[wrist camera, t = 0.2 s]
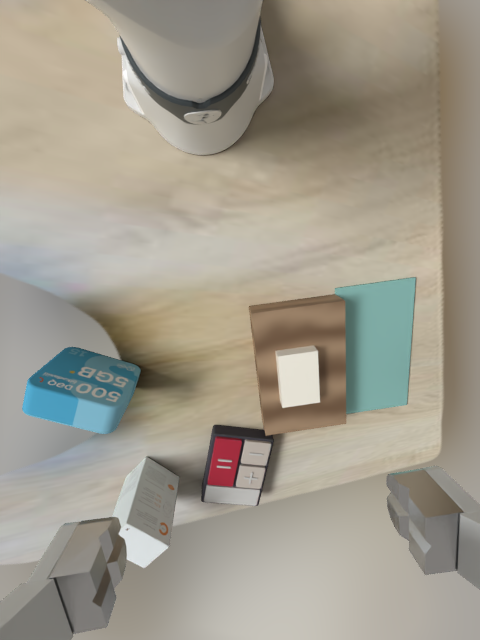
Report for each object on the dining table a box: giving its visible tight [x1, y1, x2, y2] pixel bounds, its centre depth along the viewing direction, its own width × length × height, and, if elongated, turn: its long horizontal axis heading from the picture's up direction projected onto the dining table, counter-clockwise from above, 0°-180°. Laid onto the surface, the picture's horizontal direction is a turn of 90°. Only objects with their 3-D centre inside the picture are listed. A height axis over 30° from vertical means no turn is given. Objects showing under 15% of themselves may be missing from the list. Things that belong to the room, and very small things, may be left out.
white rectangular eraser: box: [275, 346, 320, 408], centre depth 46 cm, size 9×6×2 cm, turn 7°
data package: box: [22, 347, 141, 434], centre depth 43 cm, size 12×4×12 cm, turn 69°
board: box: [249, 294, 346, 436], centre depth 49 cm, size 22×14×4 cm, turn 7°
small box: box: [112, 457, 179, 568], centre depth 51 cm, size 8×6×13 cm
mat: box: [335, 277, 416, 414], centre depth 51 cm, size 24×13×1 cm, turn 7°
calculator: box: [201, 425, 274, 506], centre depth 55 cm, size 11×4×15 cm
